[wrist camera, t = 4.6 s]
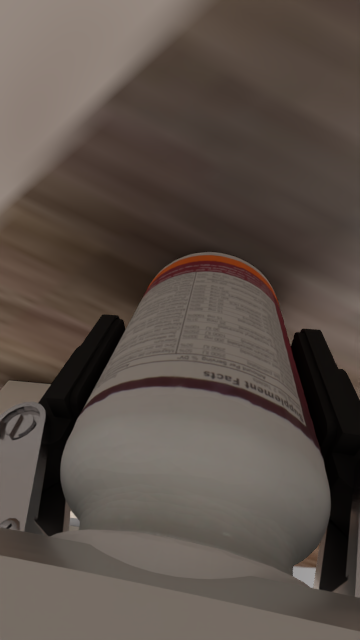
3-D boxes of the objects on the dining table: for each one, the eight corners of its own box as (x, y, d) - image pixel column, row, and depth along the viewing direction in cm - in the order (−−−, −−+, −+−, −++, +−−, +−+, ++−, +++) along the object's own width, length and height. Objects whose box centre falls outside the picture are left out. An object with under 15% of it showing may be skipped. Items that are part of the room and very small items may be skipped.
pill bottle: (245, 369, 15) (271, 766, 6) (137, 338, 14) (-19, 691, 5) (303, 271, 11) (668, 966, 2) (160, 227, 11) (-211, 744, 2)
